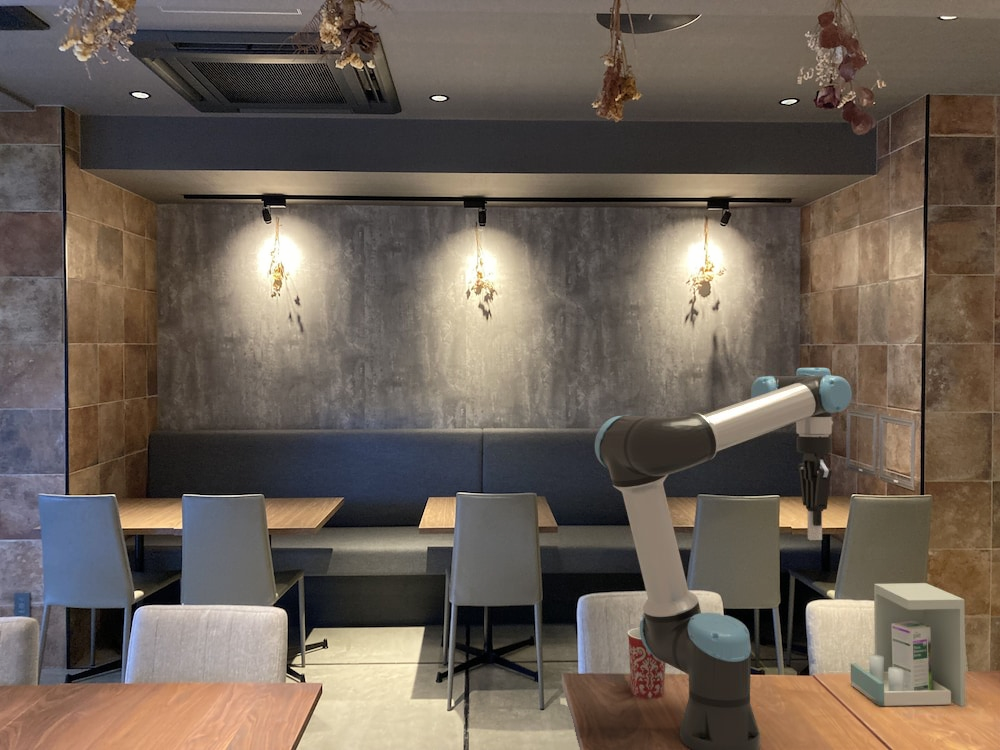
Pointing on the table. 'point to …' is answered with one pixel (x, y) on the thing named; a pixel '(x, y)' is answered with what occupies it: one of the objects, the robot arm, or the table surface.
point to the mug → (644, 668)
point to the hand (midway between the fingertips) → (814, 539)
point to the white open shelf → (933, 611)
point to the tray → (917, 695)
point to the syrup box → (912, 654)
